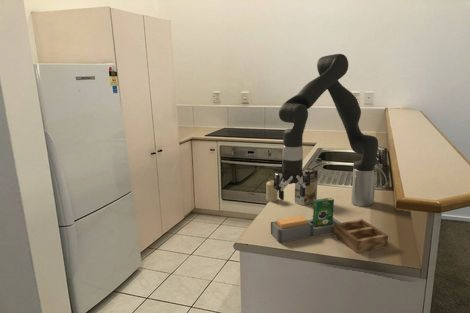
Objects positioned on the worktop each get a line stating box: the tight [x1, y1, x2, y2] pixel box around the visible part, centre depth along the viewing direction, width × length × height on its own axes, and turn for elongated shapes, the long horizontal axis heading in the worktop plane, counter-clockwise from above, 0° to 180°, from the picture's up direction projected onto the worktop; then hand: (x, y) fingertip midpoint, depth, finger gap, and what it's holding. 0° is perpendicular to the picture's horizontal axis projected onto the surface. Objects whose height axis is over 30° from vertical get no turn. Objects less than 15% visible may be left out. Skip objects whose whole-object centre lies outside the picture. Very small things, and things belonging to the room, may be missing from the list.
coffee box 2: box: [312, 197, 335, 227], centre depth 143 cm, size 8×3×13 cm, turn 109°
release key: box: [276, 215, 308, 229], centre depth 139 cm, size 11×5×4 cm, turn 107°
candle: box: [265, 179, 279, 202], centre depth 176 cm, size 6×6×10 cm
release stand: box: [270, 217, 342, 243], centre depth 141 cm, size 28×8×5 cm, turn 107°
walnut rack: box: [332, 218, 389, 254], centre depth 134 cm, size 13×15×4 cm
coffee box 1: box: [294, 167, 319, 207], centre depth 171 cm, size 9×6×16 cm
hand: (291, 197), depth 136 cm, fingers open, 8 cm apart
